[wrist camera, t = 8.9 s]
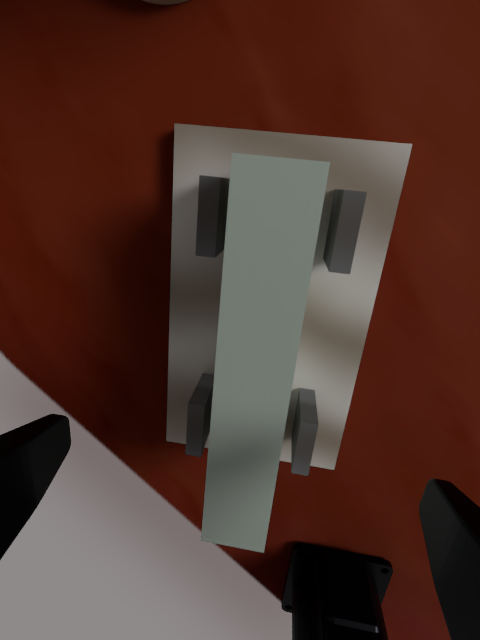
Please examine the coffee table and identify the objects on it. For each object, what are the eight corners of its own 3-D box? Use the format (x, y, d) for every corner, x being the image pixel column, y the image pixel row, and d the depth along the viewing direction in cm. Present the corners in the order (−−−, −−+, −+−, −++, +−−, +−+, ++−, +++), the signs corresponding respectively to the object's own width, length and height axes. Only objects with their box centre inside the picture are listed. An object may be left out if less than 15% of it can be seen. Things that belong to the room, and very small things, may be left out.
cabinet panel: (332, 457, 22) (340, 513, 18) (171, 430, 23) (147, 478, 19) (405, 146, 16) (440, 133, 12) (181, 127, 16) (148, 109, 13)
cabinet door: (272, 436, 20) (263, 552, 14) (229, 429, 21) (201, 540, 14) (314, 172, 15) (330, 162, 9) (256, 167, 16) (231, 152, 9)
